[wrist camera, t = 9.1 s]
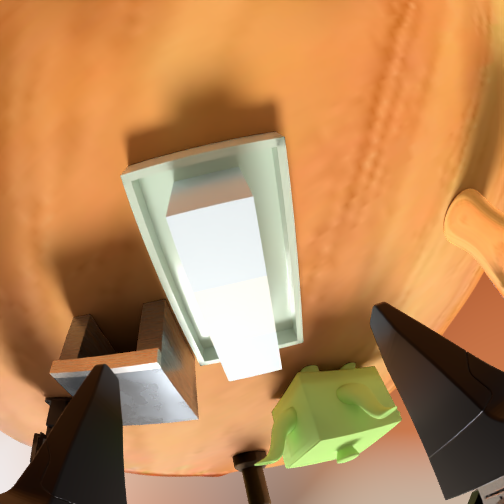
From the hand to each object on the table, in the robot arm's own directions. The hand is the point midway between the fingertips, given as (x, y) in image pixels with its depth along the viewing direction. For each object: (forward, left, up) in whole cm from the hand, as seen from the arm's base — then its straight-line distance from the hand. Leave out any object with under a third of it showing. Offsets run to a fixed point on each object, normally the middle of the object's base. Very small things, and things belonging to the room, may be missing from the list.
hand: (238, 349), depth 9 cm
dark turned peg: (-50, +6, -12) cm, 52 cm away
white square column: (-5, 0, -11) cm, 12 cm away
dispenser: (-11, +10, -12) cm, 19 cm away
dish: (-5, 0, -12) cm, 13 cm away
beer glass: (-6, -23, -12) cm, 27 cm away
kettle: (-25, -7, -12) cm, 28 cm away
